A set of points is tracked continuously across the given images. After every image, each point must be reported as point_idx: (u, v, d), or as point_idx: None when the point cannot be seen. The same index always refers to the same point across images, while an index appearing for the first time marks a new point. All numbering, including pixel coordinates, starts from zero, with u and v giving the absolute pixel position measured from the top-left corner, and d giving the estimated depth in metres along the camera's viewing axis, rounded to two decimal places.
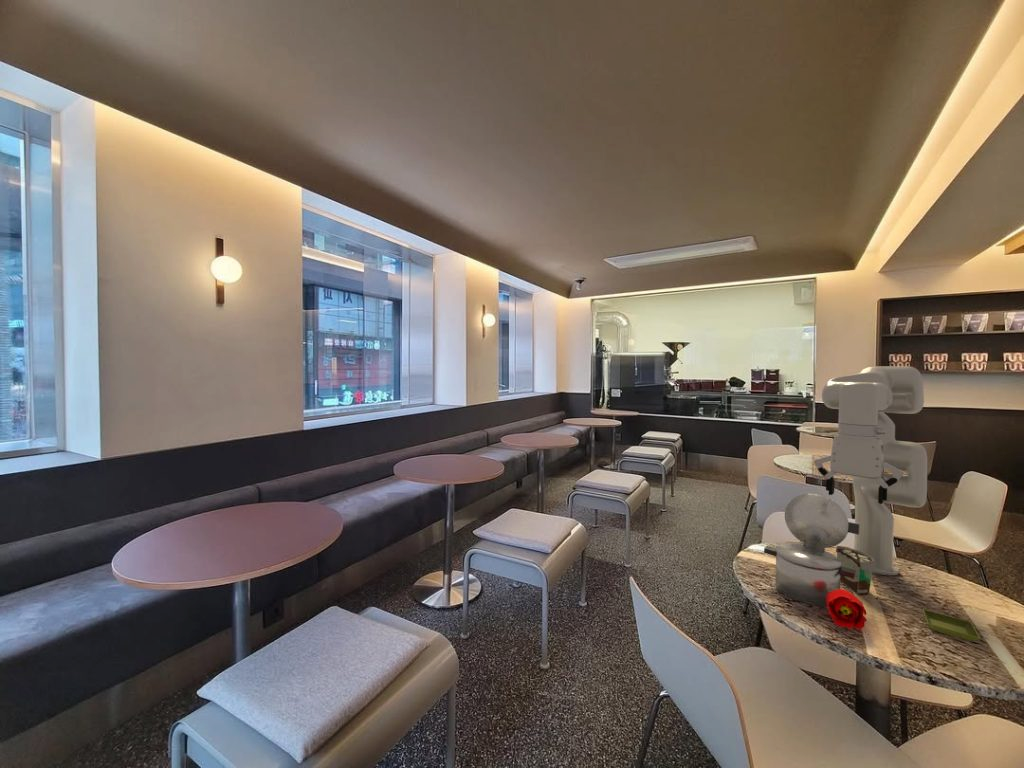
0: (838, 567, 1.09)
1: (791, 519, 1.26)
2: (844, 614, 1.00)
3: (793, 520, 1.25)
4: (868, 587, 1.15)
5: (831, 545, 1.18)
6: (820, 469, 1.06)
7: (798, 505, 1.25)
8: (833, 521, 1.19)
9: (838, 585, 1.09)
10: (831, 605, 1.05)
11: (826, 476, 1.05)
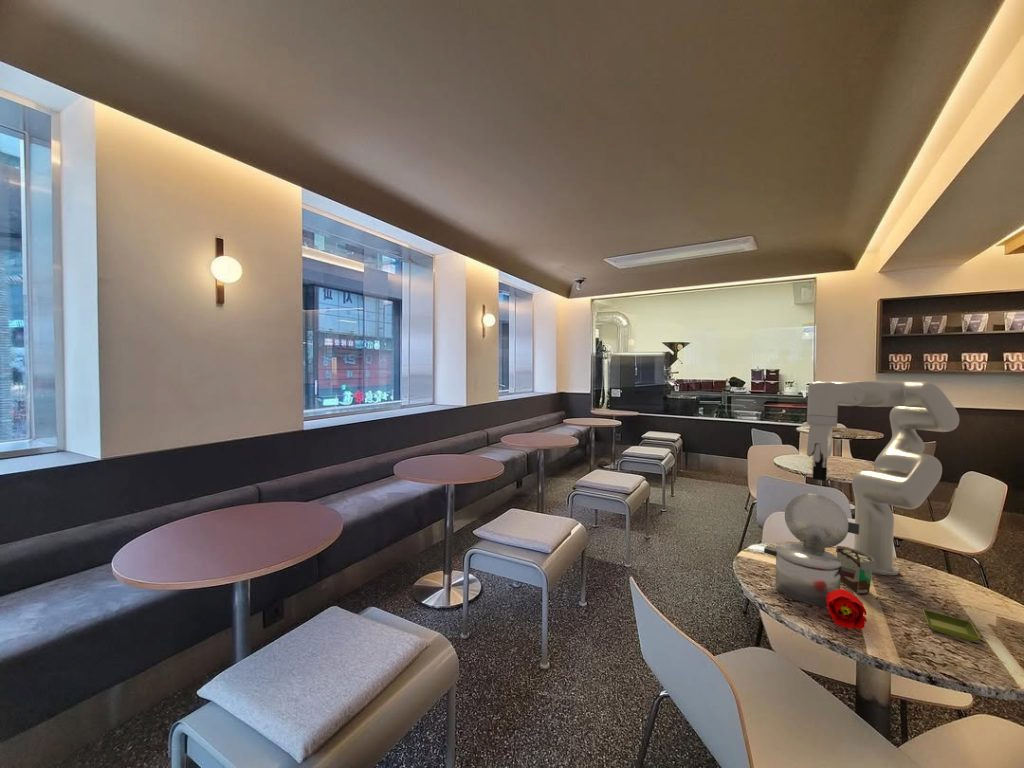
0: (838, 567, 1.09)
1: (791, 519, 1.26)
2: (844, 614, 1.00)
3: (793, 520, 1.25)
4: (868, 587, 1.15)
5: (831, 545, 1.18)
6: (822, 461, 1.23)
7: (798, 505, 1.25)
8: (833, 521, 1.19)
9: (838, 585, 1.09)
10: (831, 605, 1.05)
11: (824, 465, 1.24)
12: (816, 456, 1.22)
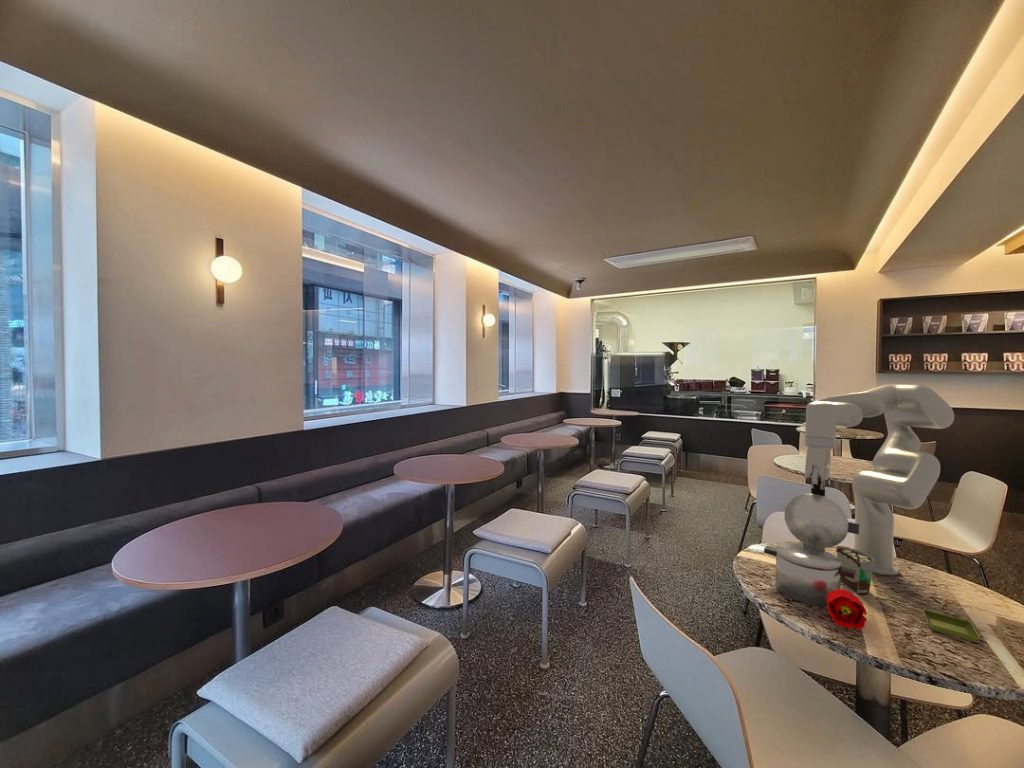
0: (838, 567, 1.09)
1: (791, 519, 1.26)
2: (844, 614, 1.00)
3: (793, 520, 1.25)
4: (868, 587, 1.15)
5: (831, 545, 1.18)
6: (820, 483, 1.22)
7: (798, 505, 1.25)
8: (833, 521, 1.18)
9: (838, 585, 1.09)
10: (831, 605, 1.05)
11: None
12: (814, 478, 1.21)
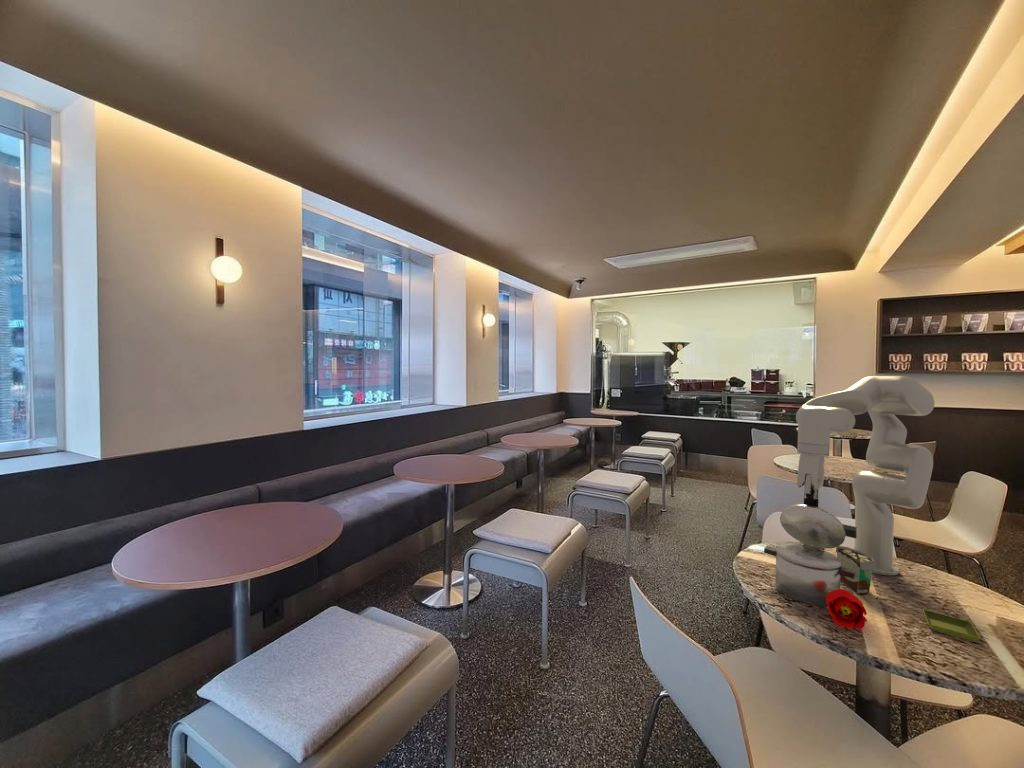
0: (838, 567, 1.09)
1: (787, 525, 1.23)
2: (844, 614, 1.00)
3: (789, 526, 1.23)
4: (868, 587, 1.15)
5: (830, 547, 1.17)
6: (813, 492, 1.15)
7: (792, 515, 1.20)
8: (829, 529, 1.15)
9: (838, 585, 1.09)
10: (831, 605, 1.05)
11: None
12: (807, 487, 1.14)
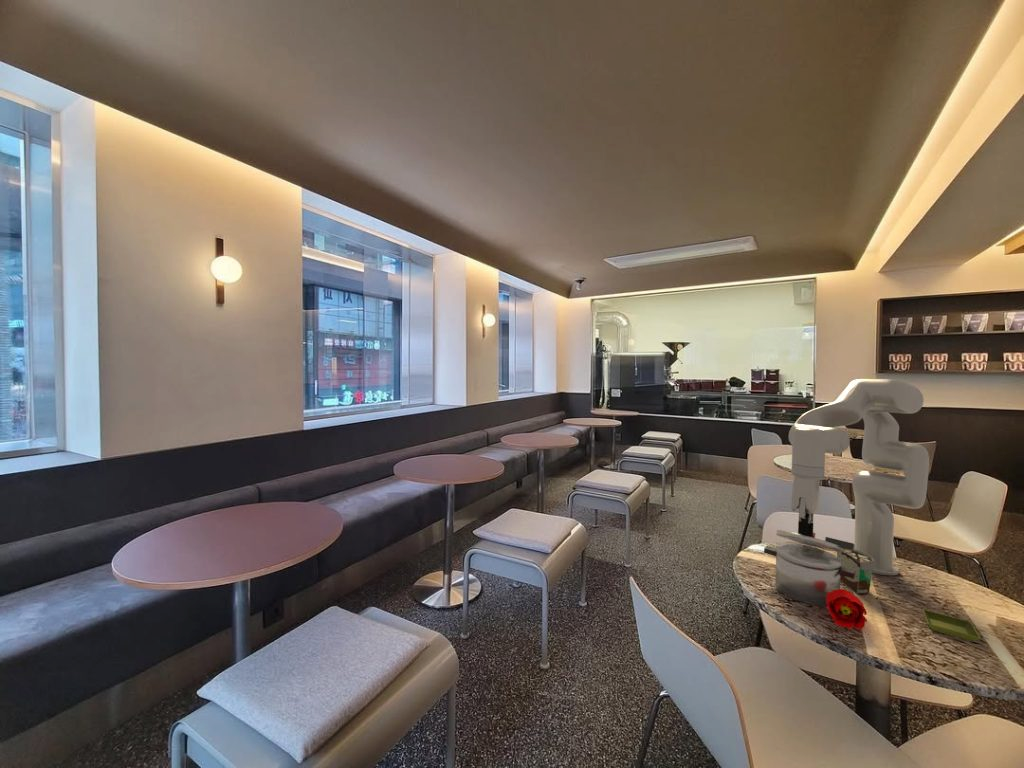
0: (838, 567, 1.09)
1: (785, 537, 1.21)
2: (844, 614, 1.00)
3: (787, 538, 1.21)
4: (868, 587, 1.15)
5: (830, 550, 1.17)
6: (808, 516, 1.11)
7: (787, 536, 1.17)
8: (826, 547, 1.12)
9: (838, 585, 1.09)
10: (831, 605, 1.05)
11: (810, 521, 1.12)
12: (801, 512, 1.10)
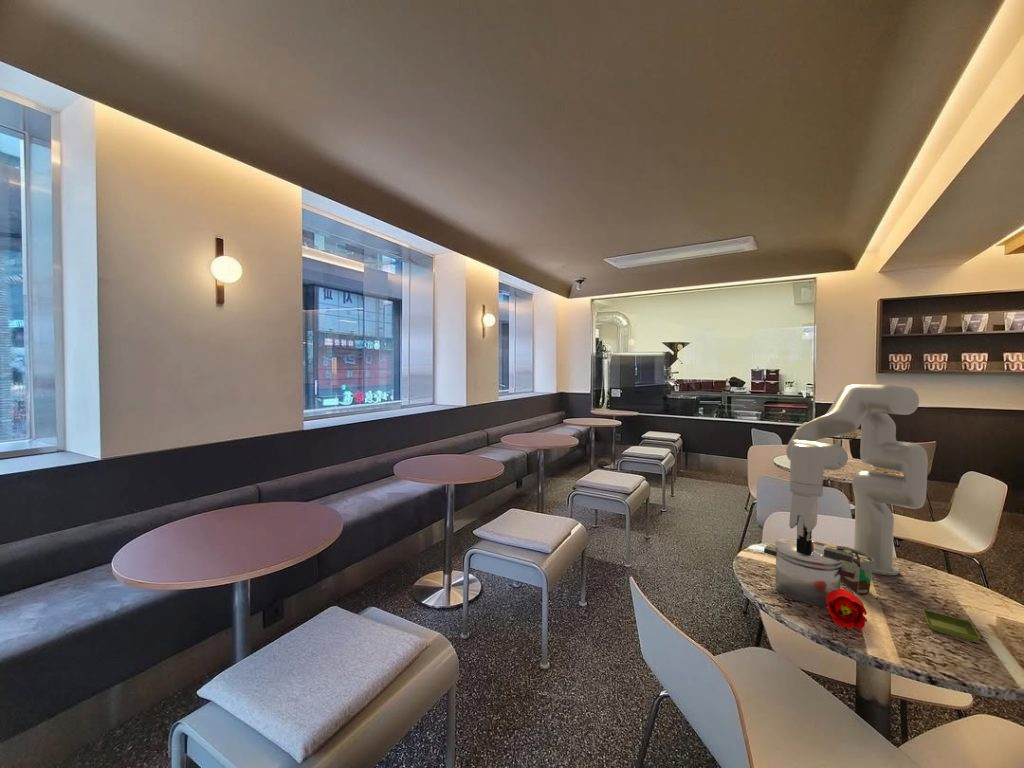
0: (838, 567, 1.09)
1: None
2: (844, 614, 1.00)
3: None
4: (868, 587, 1.15)
5: None
6: (806, 534, 1.10)
7: None
8: None
9: (838, 585, 1.09)
10: (831, 605, 1.05)
11: (808, 539, 1.11)
12: (799, 529, 1.09)
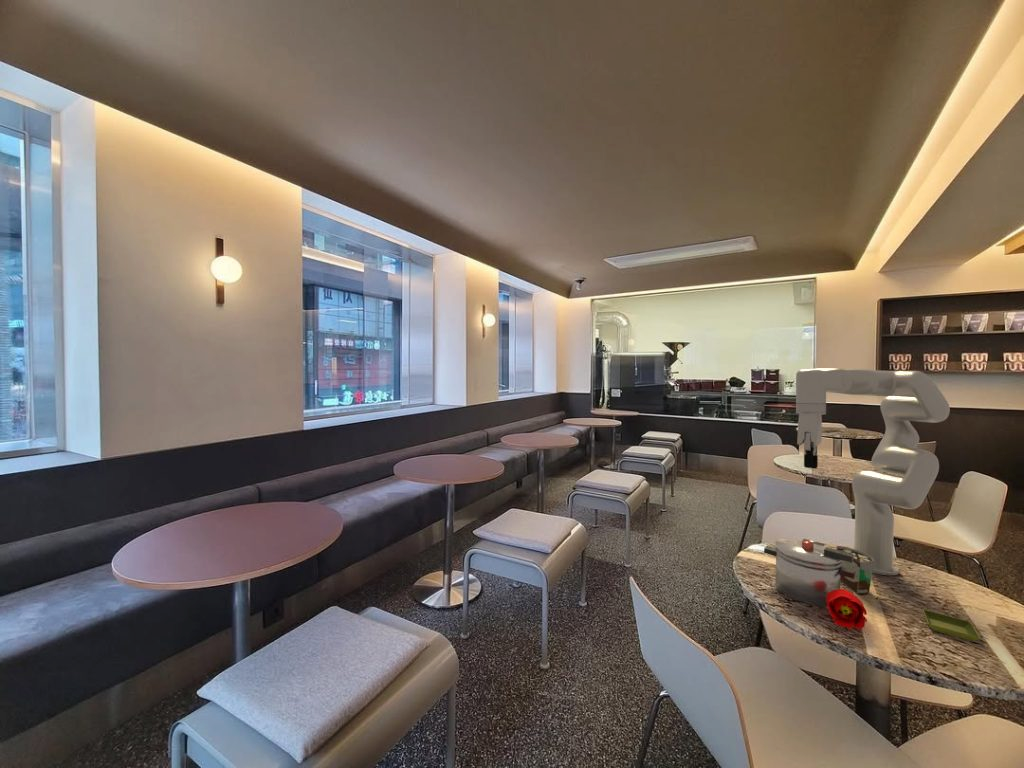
0: (838, 567, 1.09)
1: None
2: (844, 614, 1.00)
3: None
4: (868, 587, 1.15)
5: None
6: (812, 449, 1.22)
7: None
8: None
9: (838, 585, 1.09)
10: (831, 605, 1.05)
11: (814, 453, 1.23)
12: (807, 444, 1.22)
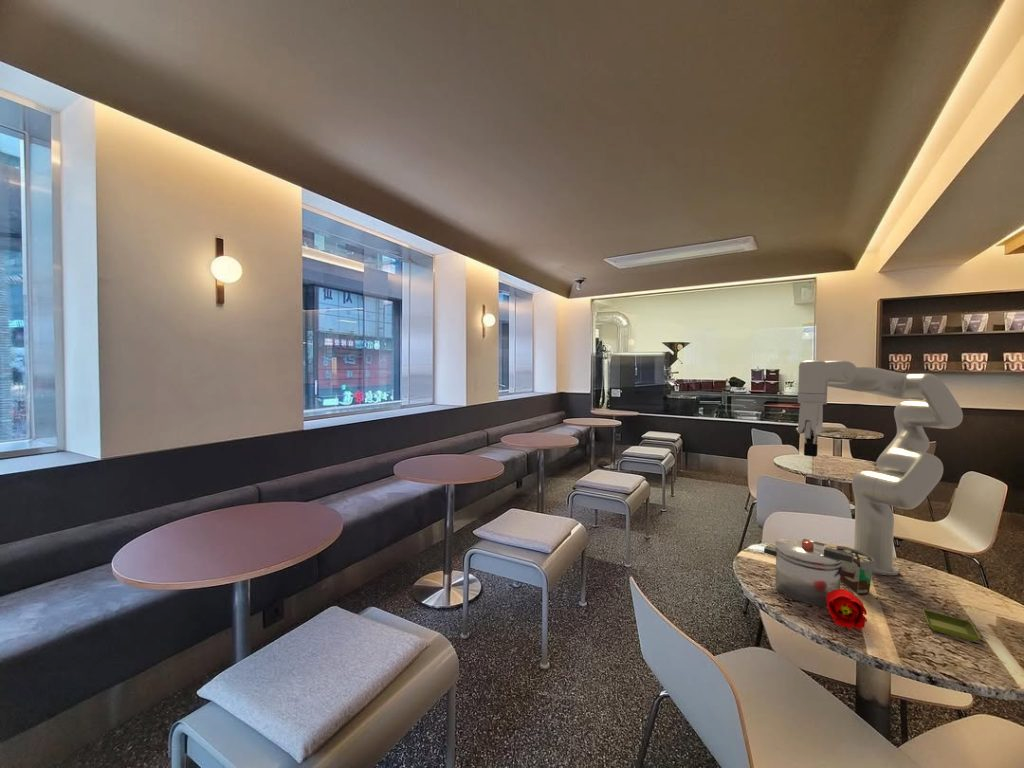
0: (838, 567, 1.09)
1: None
2: (844, 614, 1.00)
3: None
4: (868, 587, 1.15)
5: None
6: (812, 437, 1.27)
7: None
8: None
9: (838, 585, 1.09)
10: (831, 605, 1.05)
11: (814, 442, 1.27)
12: (807, 433, 1.26)
